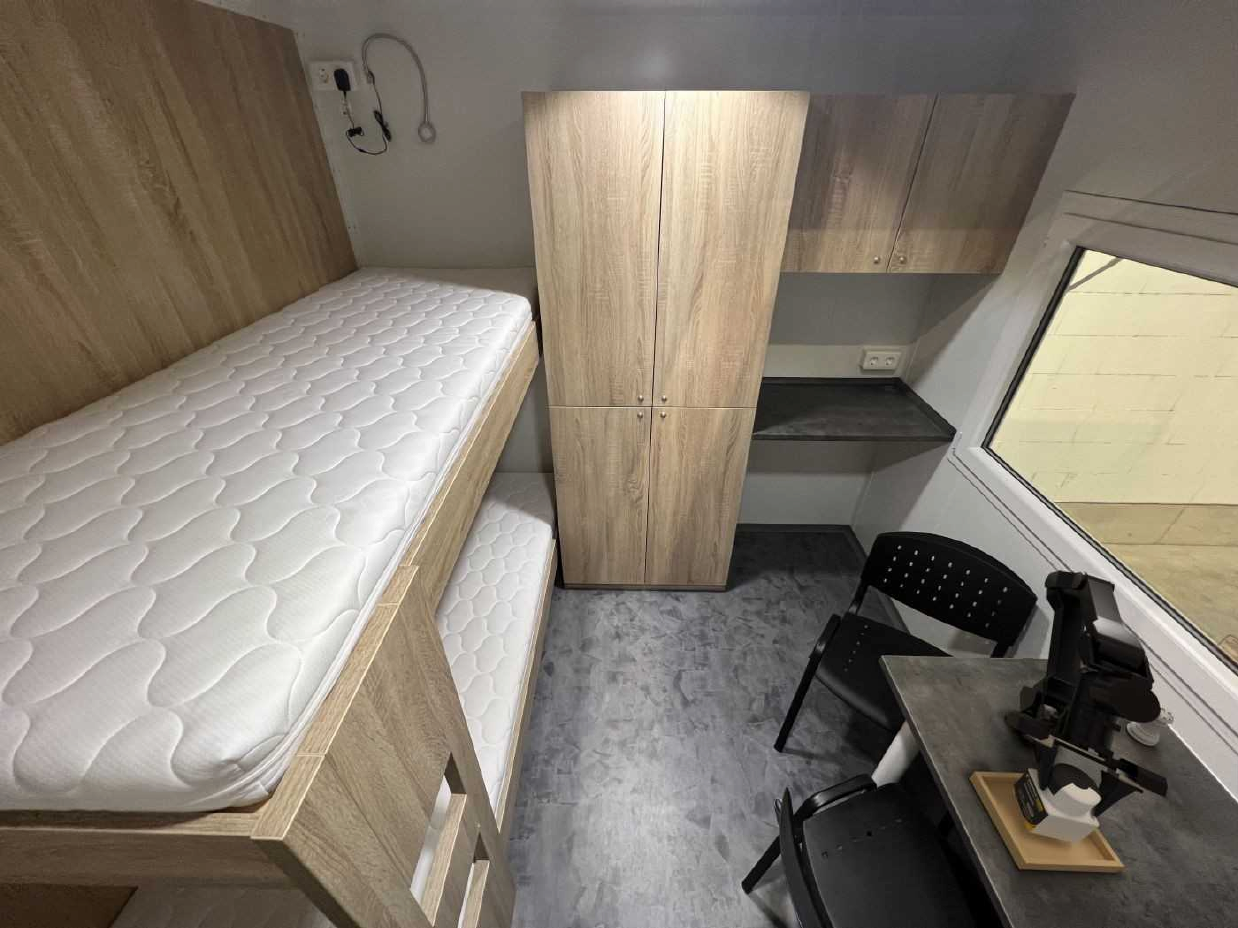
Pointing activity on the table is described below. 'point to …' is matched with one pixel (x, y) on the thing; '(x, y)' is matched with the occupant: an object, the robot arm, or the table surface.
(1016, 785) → the medicine bottle
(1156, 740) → the rook chess piece
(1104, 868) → the tray
